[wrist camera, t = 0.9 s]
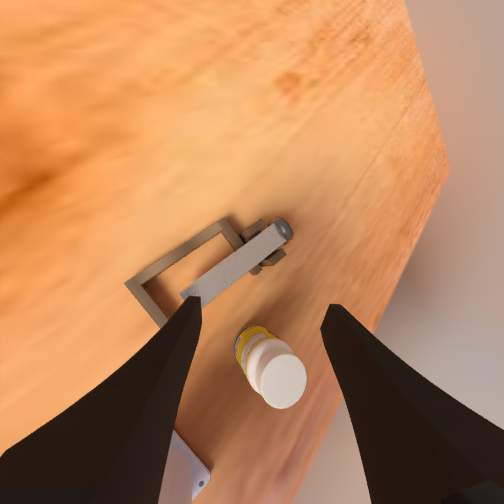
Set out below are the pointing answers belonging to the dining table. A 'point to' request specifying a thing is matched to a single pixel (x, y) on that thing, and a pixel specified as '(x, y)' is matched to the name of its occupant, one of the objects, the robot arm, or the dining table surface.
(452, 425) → the robot arm
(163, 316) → the mount
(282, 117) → the dining table surface
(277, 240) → the lock pin
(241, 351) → the supplement bottle
